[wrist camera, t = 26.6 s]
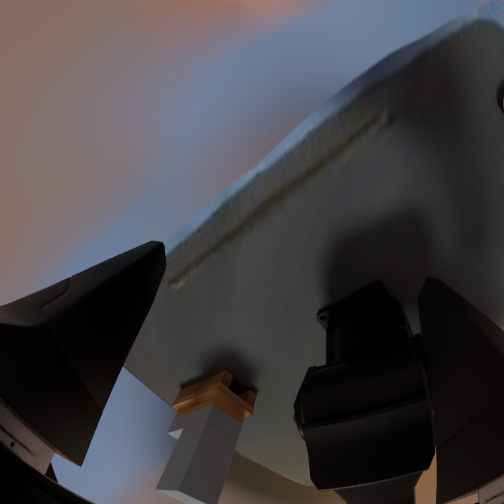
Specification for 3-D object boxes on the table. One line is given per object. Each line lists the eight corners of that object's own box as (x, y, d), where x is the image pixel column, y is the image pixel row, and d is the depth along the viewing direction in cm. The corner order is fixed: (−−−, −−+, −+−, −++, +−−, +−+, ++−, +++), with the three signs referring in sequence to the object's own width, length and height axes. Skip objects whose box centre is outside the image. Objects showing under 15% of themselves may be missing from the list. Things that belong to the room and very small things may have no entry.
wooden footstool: (225, 368, 30) (217, 388, 28) (257, 395, 31) (252, 414, 29) (179, 389, 34) (171, 406, 32) (209, 412, 35) (202, 429, 33)
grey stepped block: (216, 396, 28) (178, 490, 18) (244, 416, 29) (216, 508, 19) (177, 412, 32) (140, 488, 21) (203, 429, 33) (172, 504, 22)
